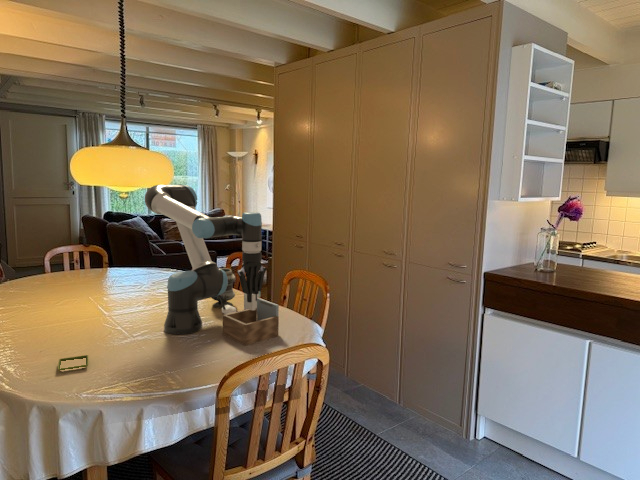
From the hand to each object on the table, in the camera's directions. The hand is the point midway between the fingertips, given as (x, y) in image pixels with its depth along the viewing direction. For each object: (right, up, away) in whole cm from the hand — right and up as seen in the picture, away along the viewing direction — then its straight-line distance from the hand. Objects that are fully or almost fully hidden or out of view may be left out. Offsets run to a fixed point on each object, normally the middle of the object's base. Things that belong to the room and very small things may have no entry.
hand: (252, 309), depth 176 cm
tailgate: (+5, -7, +7) cm, 11 cm away
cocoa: (-13, -8, +19) cm, 25 cm away
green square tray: (-54, -14, -31) cm, 64 cm away
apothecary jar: (-21, -5, +40) cm, 45 cm away
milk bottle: (-5, -6, +32) cm, 33 cm away
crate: (-1, -10, +1) cm, 11 cm away
